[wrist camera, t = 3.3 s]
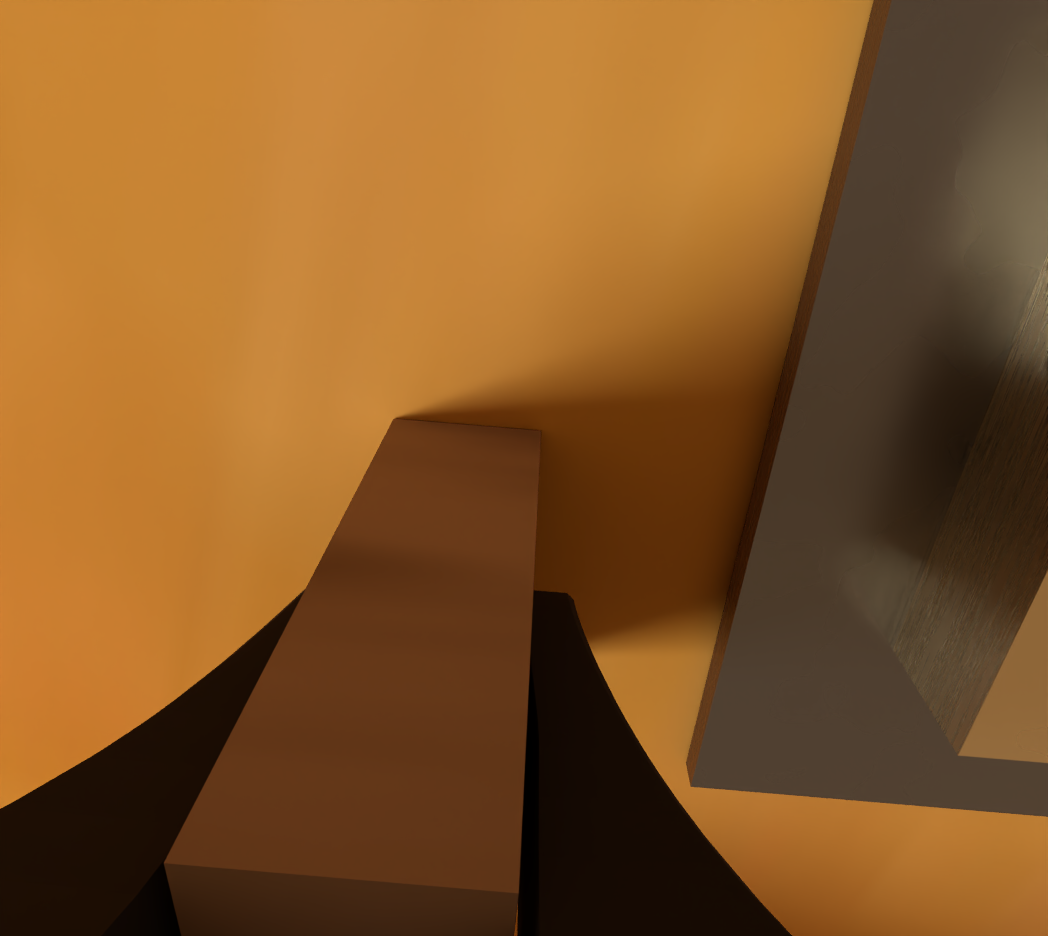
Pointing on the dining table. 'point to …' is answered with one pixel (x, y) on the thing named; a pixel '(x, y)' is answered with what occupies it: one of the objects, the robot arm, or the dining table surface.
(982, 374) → the grey framed slot plate
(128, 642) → the dining table surface
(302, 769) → the thick wooden plank
